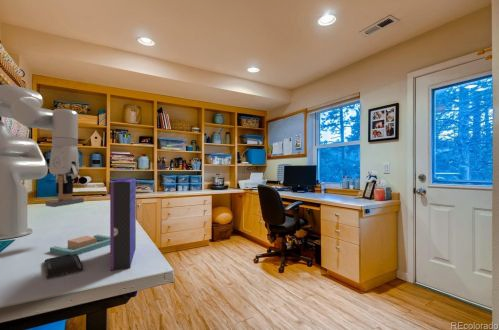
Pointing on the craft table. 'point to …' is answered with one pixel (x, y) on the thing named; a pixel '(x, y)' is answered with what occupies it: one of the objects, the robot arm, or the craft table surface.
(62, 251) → the frame
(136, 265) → the craft table surface
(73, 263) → the phone
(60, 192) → the pusher
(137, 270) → the craft table surface
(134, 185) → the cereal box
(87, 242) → the tile
